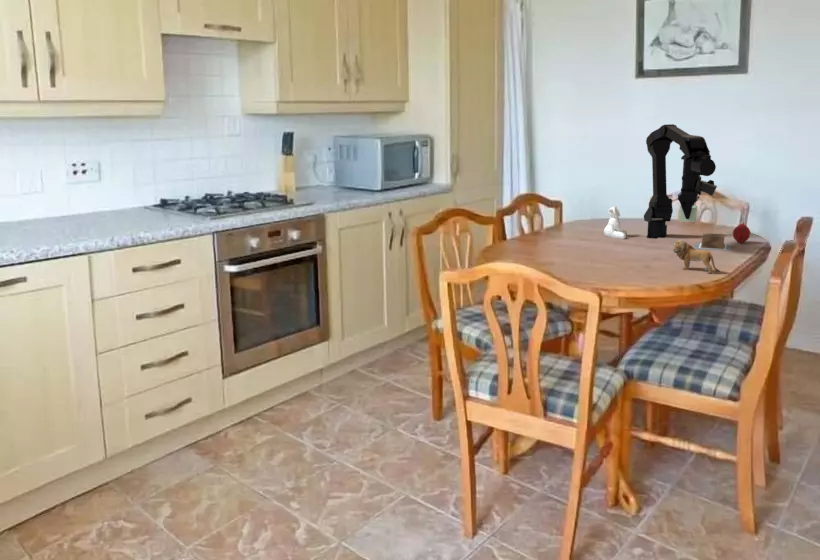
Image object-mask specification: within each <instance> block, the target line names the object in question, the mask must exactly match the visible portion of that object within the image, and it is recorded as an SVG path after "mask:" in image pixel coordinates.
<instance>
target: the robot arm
mask: <svg viewBox="0 0 820 560" xmlns="http://www.w3.org/2000/svg"><path fill="white" fill-rule="evenodd" d="M645 139H646V140H645V143H646V147H647V152H648V153H649V155H650V157H651V161H652V163H651V164H652V168H651V169H652V197H651V198H650V200H649V202H648V208H647V209H646V211H645V213H644V214H643V221H644V222H647V235H646V238H649V239H650V238H651V239H658V238H659V239H661V238H662V239H664V238H665V237H667V235H668V234H667V233H668V224H667V222H671V219H672V214H673V211H674V210H673V200H672V198H670V197H669V196H668V194H667V160H666V159H667V158H666V157H667V155H668V153H669V151H670V150H671V149H670V148H671V144H672V143H673V142H674V143H676V145H677V144H678V145H679V150H680V151H681V152H682V153H683V155H682V156H681V157H680V159H681V160H682V161H683V164H682V165H683V166H682V176H681V181H682V182H681V188H680V192H679V193H678V194H677V200H678V201H679V204H680V208H681V207H682V209H683V212H684V215H685V218H686V219H689V218H690V214H691V210H692V206H695V204H696V203H697V202H698V200H699V199H700V198H701V195H702V193H705V194H708V195H709V196H714V194H715V192H716V189H717V187H718V186H717V185H716V184H715V181H714V180H712V179H709V180H708V181H706V180H705V181H704V180H702V176H704V177H709V176H711V175H713V174H714V172H715V171H716V168H717V167H716V166H717V165H716V162H715V161H714V160H713V159H712V156H711V154H710V153H711V151H710V149H709V147H708V144H707V141H706V139H705V137H704V136H702V135H701V136H700V135H693V134H689V133H688V132H687V131H684V130H683V129H681V128H680V127H678V126H677V125H676V124H673V123H672V124H663V125H661V126H660V127H659V128H658V129H656V130H653V131H652V132H650V134H649V135H648V136H646V138H645Z"/></svg>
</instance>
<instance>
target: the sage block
mask: <svg viewBox="0 0 820 560" xmlns="http://www.w3.org/2000/svg"><path fill="white" fill-rule="evenodd" d="M697 212H698V205H694V206H692V210H691V214H690V218H689V219H686V218H685V215H684V212H683V209H682V207H681V206H680V213H679V214H680V215H679V222H684V223H685V222H686V223H687V222H689V223H696V222H697Z"/></svg>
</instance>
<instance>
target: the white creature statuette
mask: <svg viewBox="0 0 820 560" xmlns="http://www.w3.org/2000/svg"><path fill="white" fill-rule="evenodd" d="M607 211H608V215H609V217H610V218H609V219H608V223H607V225H606V226H605V227H604V229H603V234H604V236H606V237H607V238H612V239H618V240H619V239H620V240H623V239H624V240H625V239H626V237H627V234H628V231H627V230H626V229H624V228H621V222H620V216H621V214H620V210H619V209H618V207H617V206H616V205H615V206H611V207H609V209H608V210H607Z"/></svg>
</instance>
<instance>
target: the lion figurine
mask: <svg viewBox="0 0 820 560" xmlns="http://www.w3.org/2000/svg"><path fill="white" fill-rule="evenodd" d="M673 243H674V244H673V247H672V251H673V253H674V254H675V255H676V256H677V257H678V258H679V260H682V261H683V262H684V267H682V270H683V269H684V270H683V271H687V270H688V269H690V264H691V262H700V261H701V262H702V263H703V265H704V266H705V268H703V271H706V272H707V273H706V274H712V273H713V270H715V272H718V273H719V272H720V269H718V268H716V265H715V261H714V257H713V254H712V252H711V251H710V250H707V249H701V250H700V249H694V247H693V245H691V244H689V243H687V242H686V241H683V240H675V241H674V242H673ZM710 262H711V264H712V265H711V264H710ZM686 269H687V270H686Z"/></svg>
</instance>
